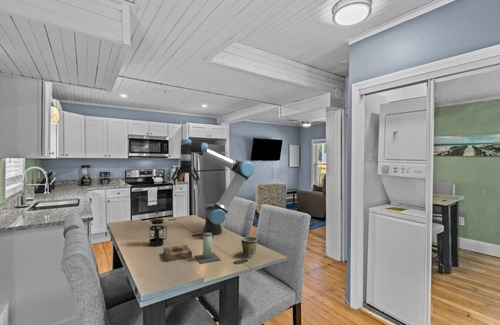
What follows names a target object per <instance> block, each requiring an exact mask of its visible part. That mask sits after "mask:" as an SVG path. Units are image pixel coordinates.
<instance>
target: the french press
mask: <svg viewBox="0 0 500 325" xmlns="http://www.w3.org/2000/svg"><path fill="white" fill-rule="evenodd" d="M153 212H154V213H156V215H158V214H159V213H160V212H161V210H154V211H153ZM164 221H165V219H164V218H151V219H149V222H151V224H152V226H149V231H154V233H152V234H149V243H148V246H149V247H151V248H153V247H154V248H156V247H161V246H164V243H165V242H164V240H167V236H168V235H167V234H168V232H167V228H168V227H167V226H165V225H161V224H164ZM164 228H165V233H164ZM160 231H162V233H160ZM164 234H165V235H164ZM164 236H165V238H164Z"/></svg>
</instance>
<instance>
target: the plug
mask: <svg viewBox="0 0 500 325" xmlns="http://www.w3.org/2000/svg"><path fill="white" fill-rule="evenodd" d="M202 235H203V236H202V237H203V240H202V255H203V258H204V259H210V258H212V253H213V252H212V251H213V250H212V249H213V248H212V247H213V246H212V245H213V235H212V233H202Z"/></svg>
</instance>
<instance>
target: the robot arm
mask: <svg viewBox="0 0 500 325" xmlns="http://www.w3.org/2000/svg"><path fill="white" fill-rule="evenodd" d="M208 147H209V145H208V143H207V142H194V141H192V139H189V138H183V139H181V140H180V161H179V163H180V164H179V165H180V166H176V167H175V169H174V172H173V173H172V176H171V178H170V180H172V181H173V186H174V190H175V191H177V190H178V186H177V184H178V181H177V180H178V178H179V177H180V176H181V175H182V174H189V175H190V177H192V179H193V186H192V187H193V190H196V186H197V184H198V181H199V180H200V177H199V175H198V173H197V170H196V167H195V166H192V153H194V154H196V155H199V156H201V157H204V158H206V159H208V160H211V161H213V162H215V163H217V164H219V165H221V166H223V167H226V168H228V169H229V170H230V171H231V172H234V176H233V178H232V180H231V181H230V183H229V185H228V186H227V187H226V189H225V191H224V192H223V194H222V195H221V197H220V199H219V201H217V202H215V203H214V204H213V203H211V204H206V205H205V209H204V210H205V223H204V226H203V229H202V234H204V233H212V236H217V235H221V234H222V232H223V229H222V224H223V223H224V222H225V221H226V217H227V214H228V212H229V207H230V206H231V204H232V202H233V200H234V199H235V197H236V195H237V194H238V192H239V191H240V188H241V187H242V186H243V184H244V182H247V181H248V180H249V178H250V177H251V176H252V175H254V173H255V165H254V164H253V163H252V162H250V161H247V160H244V161H242V160H241V161H240V160H238V159H232V158H229V157H228V156H225V155H224V154H221V153H219V152H218V151H215V150H212V149H210V148H208ZM191 170H192V171H193V172H192V171H191ZM178 171H179V172H178Z"/></svg>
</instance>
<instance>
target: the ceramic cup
mask: <svg viewBox="0 0 500 325" xmlns="http://www.w3.org/2000/svg"><path fill="white" fill-rule="evenodd" d="M240 240H241V241H240V242H241V245H242V254H243V257H245V258H253V257H255V255H256V250H257V246H258V238H257V237H254V236H243V237H241V238H240Z"/></svg>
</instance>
